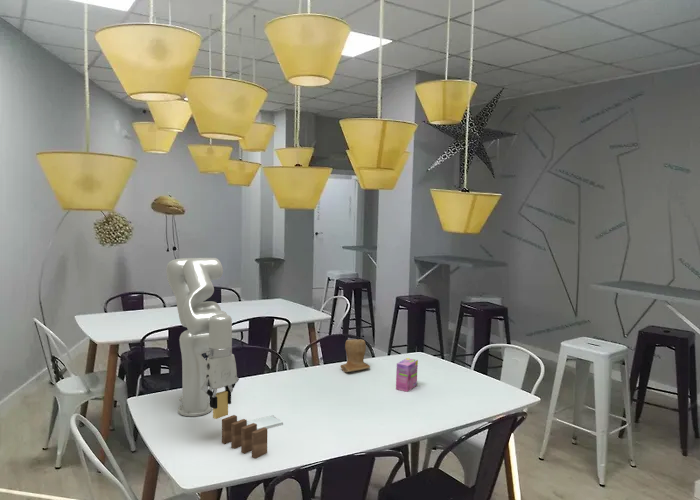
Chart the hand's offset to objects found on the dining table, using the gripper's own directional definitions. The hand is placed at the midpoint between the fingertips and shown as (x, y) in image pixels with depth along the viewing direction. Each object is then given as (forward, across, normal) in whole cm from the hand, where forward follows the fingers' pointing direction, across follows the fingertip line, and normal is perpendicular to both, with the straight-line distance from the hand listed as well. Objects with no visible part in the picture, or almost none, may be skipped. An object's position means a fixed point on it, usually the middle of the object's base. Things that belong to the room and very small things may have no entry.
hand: (220, 404), depth 172 cm
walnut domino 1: (+11, 0, -4) cm, 12 cm away
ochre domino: (+4, 0, 0) cm, 4 cm away
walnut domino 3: (+11, 0, -14) cm, 18 cm away
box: (+11, +85, -20) cm, 88 cm away
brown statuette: (+11, +90, +14) cm, 92 cm away
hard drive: (+12, +16, -2) cm, 20 cm away
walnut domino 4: (+11, 0, -20) cm, 23 cm away
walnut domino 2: (+11, 0, -10) cm, 15 cm away
